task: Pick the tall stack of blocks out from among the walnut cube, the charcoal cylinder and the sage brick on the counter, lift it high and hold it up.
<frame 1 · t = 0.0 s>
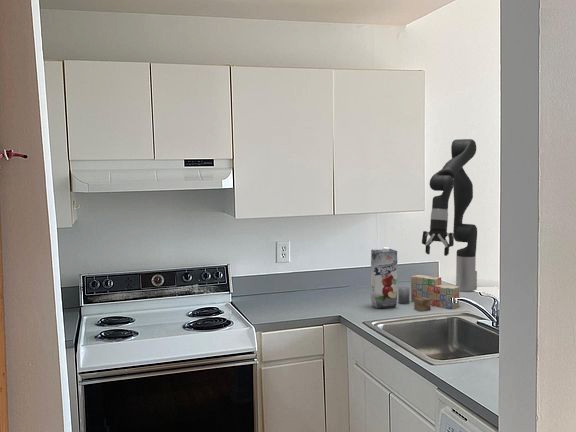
hand: (436, 254, 272), 22 cm above the worktop, tool pointing down, fingers open, 8 cm apart
stack of blocks: (434, 305, 272), on the worktop
charcoal cylinder: (403, 303, 276), on the worktop
sage brick: (431, 296, 289), on the worktop
juice carton: (383, 307, 269), on the worktop
walnut cube: (422, 309, 263), on the worktop
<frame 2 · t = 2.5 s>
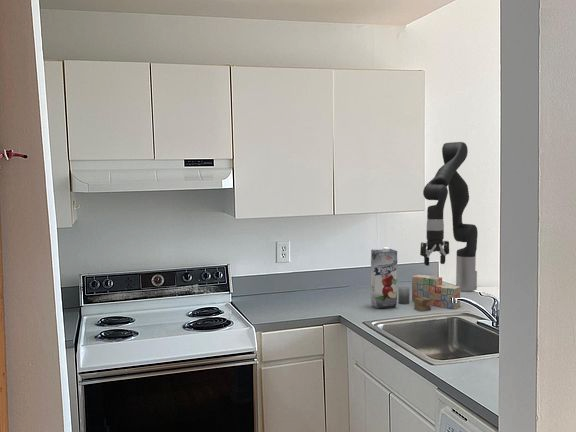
hand: (434, 264, 271), 18 cm above the worktop, tool pointing down, fingers open, 8 cm apart
nothing on the worktop moved.
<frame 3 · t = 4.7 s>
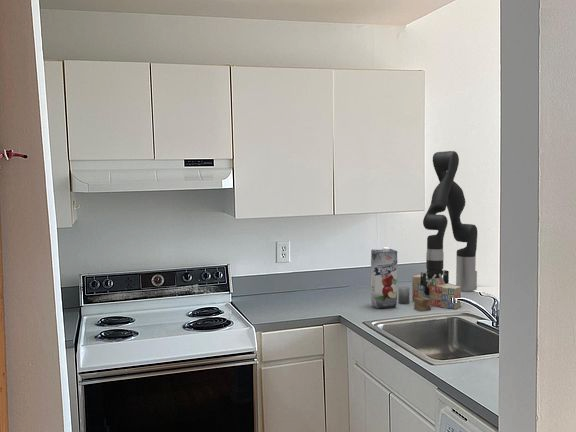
hand: (434, 294, 272), 5 cm above the worktop, tool pointing down, fingers closed on stack of blocks, 7 cm apart
stack of blocks: (435, 305, 272), on the worktop, touching gripper
everything else where it was.
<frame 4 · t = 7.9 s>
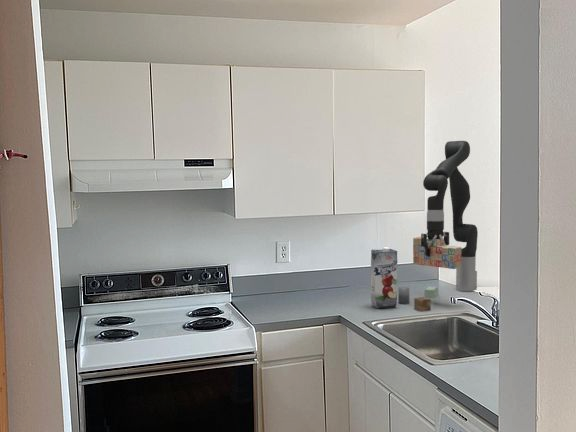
hand: (435, 255, 271), 22 cm above the worktop, tool pointing down, fingers closed on stack of blocks, 7 cm apart
stack of blocks: (436, 266, 271), point 17 cm above the worktop, touching gripper
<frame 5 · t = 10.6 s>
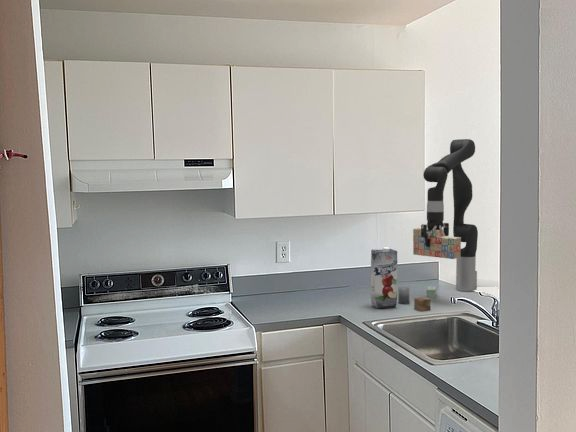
hand: (434, 246, 275), 26 cm above the worktop, tool pointing down, fingers closed on stack of blocks, 7 cm apart
stack of blocks: (436, 256, 275), point 21 cm above the worktop, touching gripper
at the end: the gripper is holding stack of blocks; stack of blocks point 21.1 cm above the worktop; walnut cube moved 0.1 cm from its start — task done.
